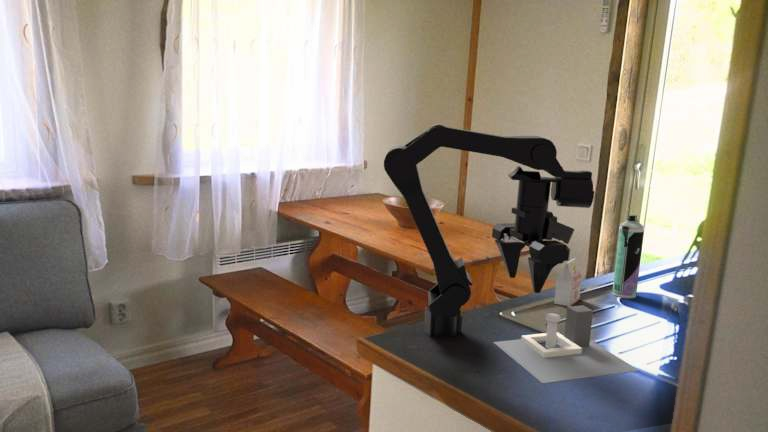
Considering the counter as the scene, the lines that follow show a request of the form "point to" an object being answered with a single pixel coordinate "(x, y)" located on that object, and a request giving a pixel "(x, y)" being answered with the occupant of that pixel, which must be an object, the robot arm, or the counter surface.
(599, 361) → the hook board
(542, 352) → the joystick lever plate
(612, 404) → the counter surface
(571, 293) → the white gabled carton
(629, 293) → the spray can
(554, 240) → the robot arm
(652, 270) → the counter surface
